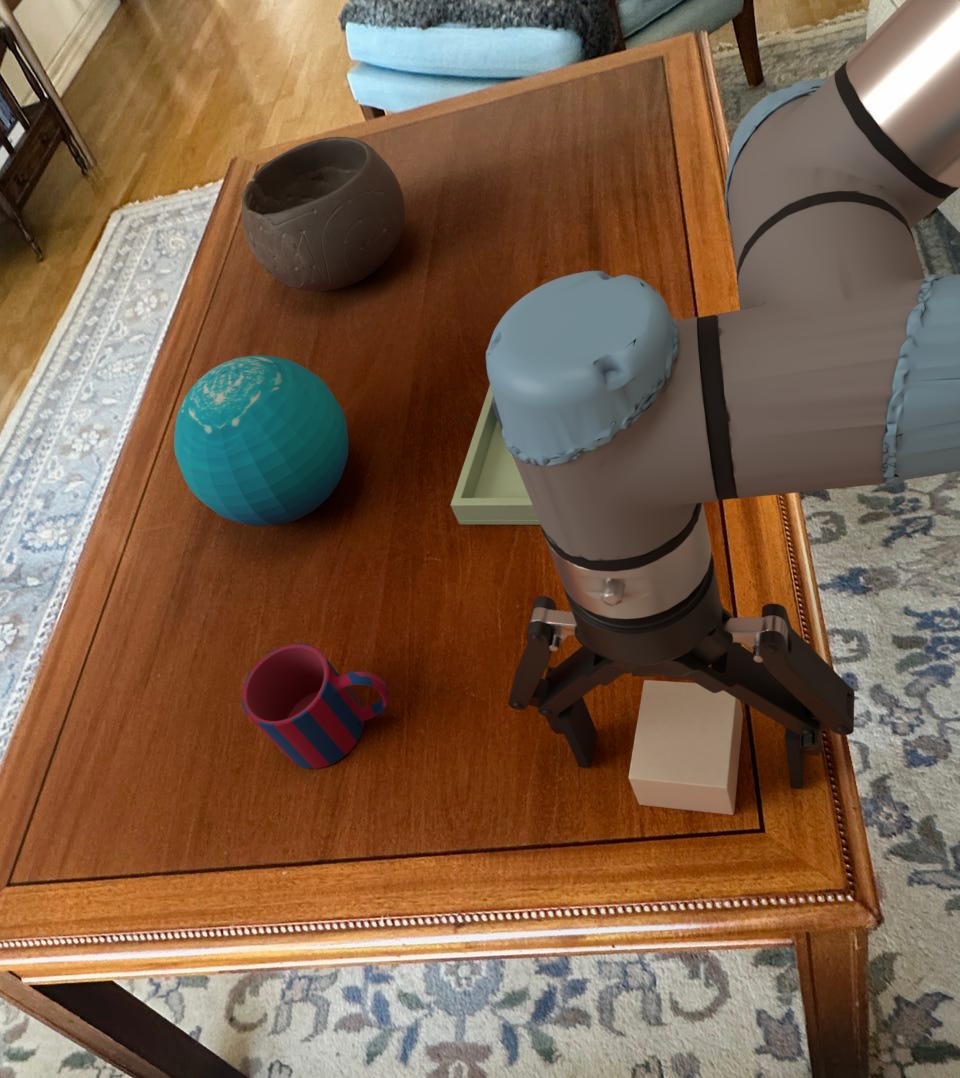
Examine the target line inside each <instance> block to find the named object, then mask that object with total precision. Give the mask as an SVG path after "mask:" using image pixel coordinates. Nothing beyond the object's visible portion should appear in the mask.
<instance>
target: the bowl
mask: <svg viewBox="0 0 960 1078" xmlns="http://www.w3.org/2000/svg"><path fill="white" fill-rule="evenodd" d="M405 221H406V204H405V199H404V194H403V190H402V187H401V184H400V182H399V181H398V178H397V176H396V175H395V173H394V171H393V170H392V169H391V167H390V166H389V164H388V163H387V162H386V161H385V159H384V158H383V157H382V156H381V155H380V154H379V153H378V152H377V151H376V150H375V149H374V148H373V147H372V146H371V145H369V144H368V143H366V142H365V141H363V140H360V139H358V138H354V137H348V136H330V137H323V138H317V139H314V140H310V141H307V142H305V143H302V144H299V145H297V146H294V147H293V148H290V149H288V150H287V151H285V152H283V153H281V154H279V155H277V156H276V157H274V158H272V159H271V160H269V161H267V162H266V163H265V164H263V166H261V167H260V168H259V169H258V170H257V171H256V172H255V173H254V174H253V175H252V178H251V180H249V181H248V182H247V184H246V186H245V187H244V190H243V191H242V194H241V223H242V230H243V234H244V236H245V238H246V242H247V244H248V247H249V249H250V251H251V254H252V255H253V257H254V259H255V260H256V261H257V262H258V264H259V265H260V266H261V268H262V269H264V270H265V271H266V273H268V274H269V275H270V276H271V277H272V278H274V279H275V280H276V281H278V282H280V283H282V284H284V285H285V286H288V287H290V288H293V289H297V290H300V291H315V292H325V291H333V290H337V289H342V288H345V287H349V286H351V285H354V284H356V283H358V282H360V281H363V280H365V279H366V278H367V277H369V276H370V275H372V274H373V273H374V272H376V271H377V270H378V269H379V268H380V267H381V266H382V265H383V264H384V263H385V262H386V261H387V259H388V258H389V257H390V255H391V254H392V253H393V251H394V250H395V247H396V246H397V245H398V242H399V240H400V238H401V235H402V234H403V230H404V227H405Z"/></svg>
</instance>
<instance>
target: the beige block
mask: <svg viewBox="0 0 960 1078" xmlns="http://www.w3.org/2000/svg"><path fill="white" fill-rule="evenodd" d="M743 713H744V712H743V709H742V702H741V701H740V700H738V699H737V698H735V697H733V696H732V695H730V694H728V693H727V692H725V691H721V692H718V693H712V692H710V691H709V690H707V689H705V688H703V687H702V686H700V685H698V684H697V683H695V682H685V681H667V680H652V679H651V680H649V679H644V680H643V684H642V690H641V697H640V702H639V710H638V714H637V715H638V716H637V721H636V727H635V735H634V740H633V746H632V753H631V758H630V759H631V760H630V765H629V772H628V780H629V783H630V785H631V788H632V790H633V793H634V795H635V797H636V800H637V803H638V805H639V806H648V807H657V808H665V809H666V808H667V809H673V810H674V809H675V810H683V811H684V810H685V811H692V812H693V811H694V812H701V813H709V814H710V813H711V814H722V815H728V816H729V815H731V816H733V815H735V810H736V809H735V808H736V797H737V788H738V787H737V786H738V776H739V763H740V755H741V754H740V753H741V743H742V733H743V722H744V721H743V720H744V714H743Z"/></svg>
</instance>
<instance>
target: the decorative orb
mask: <svg viewBox="0 0 960 1078" xmlns="http://www.w3.org/2000/svg"><path fill="white" fill-rule="evenodd" d="M174 429H175V430H174V435H173V436H174V438H173V447H174V454H175V459H176V461H177V464H178V466H179V469H180V471H181V474H182V477H183V479H184V481H185V483H186V485H187V487H188V489H189V490H190V491H191V493H192V494H193V495H194V496H195V497H196V498H197V499H198V500H199V501H200V502H201V503H203V504H204V505H205V506H207V507H208V508H209V509H211V510H212V511H213V512H214V513H216V514H218V515H219V516H220V517H222V518H225V520H228V521H231V522H236V523H240V524H244V525H247V526H252V527H272V526H273V527H274V526H282V525H285V524H288V523H292V522H294V521H298V520H300V519H301V518H303V517H305V516H307V515H309V514H310V513H312V512H314V511H315V510H316V509H318V508H319V507H320V506H321V505H322V504H323V503H324V502H325V501H327V500H328V499H329V497H330V496H331V495H332V493H333V491H334V490H335V489H336V487H337V486H338V484H339V483H340V481H341V479H342V476H343V474H344V470H345V468H346V465H347V462H348V456H349V435H348V425H347V419H346V416H345V414H344V411H343V409H342V407H341V405H340V403H339V402H338V400H337V399H336V397H335V396H334V394H333V392H332V391H331V389H330V388H329V387H328V385H327V384H326V382H324V381H323V379H321V378H320V377H319V376H318V375H317V374H316V373H314V372H312V371H311V370H309V369H307V368H306V367H304V366H302V365H300V364H299V363H297V362H294V361H292V360H290V359H288V358H283V357H280V356H279V357H278V356H271V355H265V354H252V355H245V356H238V357H235V358H233V359H230V360H227V361H224V362H222V363H221V364H219V365H217V366H215V367H213V368H211V369H210V370H208V371H207V372H206V373H205V374H204V375H203V376H201V377H200V378H199V379H198V380H196V382H195V383H194V384H193V386H191V387H190V389H189V390H188V391H187V393H186V395H185V397H184V399H183V401H182V403H181V405H180V407H179V409H178V411H177V415H176V419H175V426H174Z"/></svg>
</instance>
